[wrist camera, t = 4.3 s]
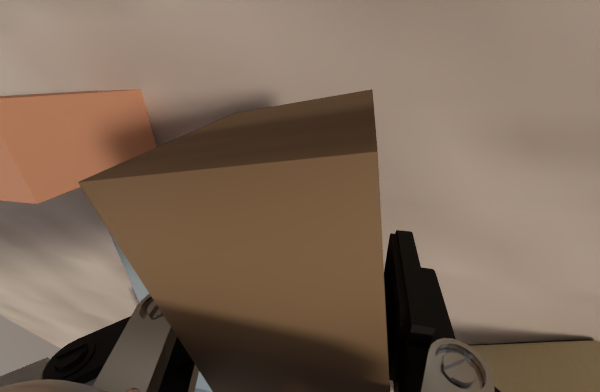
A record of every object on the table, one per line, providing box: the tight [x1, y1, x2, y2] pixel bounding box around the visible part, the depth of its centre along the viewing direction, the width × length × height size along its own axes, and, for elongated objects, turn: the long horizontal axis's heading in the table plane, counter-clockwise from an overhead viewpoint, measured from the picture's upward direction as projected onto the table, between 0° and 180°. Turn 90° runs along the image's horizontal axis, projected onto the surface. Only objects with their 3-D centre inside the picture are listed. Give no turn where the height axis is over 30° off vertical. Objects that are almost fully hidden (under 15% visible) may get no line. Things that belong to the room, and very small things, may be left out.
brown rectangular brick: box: [0, 90, 157, 204], centre depth 13 cm, size 4×4×7 cm
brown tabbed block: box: [78, 90, 390, 392], centre depth 8 cm, size 12×5×7 cm, turn 10°
